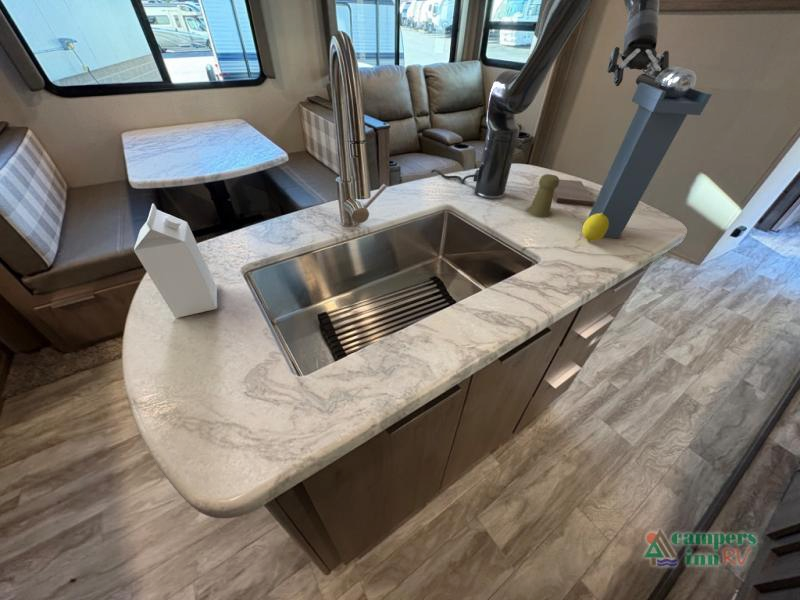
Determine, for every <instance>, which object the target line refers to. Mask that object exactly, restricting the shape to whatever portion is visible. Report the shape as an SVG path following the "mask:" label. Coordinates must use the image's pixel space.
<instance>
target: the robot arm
mask: <svg viewBox="0 0 800 600" xmlns="http://www.w3.org/2000/svg"><path fill="white" fill-rule="evenodd" d="M593 1H594V0H548V1H547V3H546V4H545V7H544V9H543V12H542V15H541V19H540V23H539V28H538V34H537V38H536V42H535V45H534V48H533V49H532V51H531V53H530V55H529V56H528V58H527V60H526V61H525V63H524V64H523V66H522V67H521V69H520V70H519V71H518V70H514V69H506V70H503V71H502V72H501V73H499V74H498V75H497V76H496V78H495V79H494V81H493V84H492V85H491V89H490V93H489V99H488V103H487V105H488V106H487V112H486V120H485V124H486V135H485V140H484V145H483V151H482V156H481V161H480V164H479V168H478V169H476V170H475V171H474V174H468V175H465V176H464V177H463V178H462V177H461V176H459V175H445V174H443V173H442V172H441V171H439V170H438V169H432V170H430V172H429V173H434V172H435V173H437V174H438V175H439V176H441V177H443V178H445V179H459V183H461V184H462V183H464V182H465V181H466V179H469V178H473V179H472V181H473V182H474V183H475V182H476V183H475V188H474V192H473V193H474V195H477V196H479V197H482V198H484V199H492V200H497V199H501V198H503V197H504V196H505V193H506V187H507V184H508V179H509V176H510V172H511V167H512V164H513V159H514V155H515V152H516V147H517V144H518V139H519V137H520V131H521V130H520V126H519V125H518V123H517V121H516V117H515V116H516V115H519V114H521V113H524V112H525V111H526V110H527V109H528V108H529V107H530V106H531V104H532V103H533V101H534V100H535V99H536V97H537V95H538V93H539V91H540V90H541V87H542V86H543V84H544V82H545V80H546V78H547V76H548V74H549V72H550V71H551V70H552V69H551V68H552V67H553V66H554V63H555V62H556V60H557V58H558V57H559V56H560V53H561V52H562V51H563V48H564V47H565V45H566V44H567V42H568V40H569V39H570V37H571V35H572V34H573V33H574V31H575V29H576V28H577V26H578V25H579V23H580V22H581V20H582V18H583V17H584V16H585V14H586V13H587V12H588V9H589V8H590V6H591V5H592V3H593ZM623 3H624V6H625V9H626V11H627V25H626V29H625V32H624V42H623V48H622V49H623V50H621V49H620V47H619V46H615V48H614V49H613V51H612V52H611V54H610V56H609V61H608V66H607V71H606V72H607V73H608V74H611V73H613V75H614V77H613V84H614V85H615V87H619V86H620V85H621V84H622V82H623V80H624V71H625V70H626V69H629V70H638V71H642V72H643V74H647V75H650V76H654V77H657V76H658V75H659V74H660V73H661V72H662V71H663V70H665V69H667V68H669V67H670V52H669V50H664V51H663V52H662V53H658V52H657V50H656V49H657V43H658V33H659V24H660V22H659V10H660V0H623ZM619 59H621V60H622V62H621V63H620V64H618V60H619Z"/></svg>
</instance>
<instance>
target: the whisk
mask: <svg viewBox="0 0 800 600" xmlns="http://www.w3.org/2000/svg"><path fill="white" fill-rule="evenodd" d="M639 83H645V84H647V85H650V86H653V87H655V88H658V89H661V90H663V91H666V94H665V96H666V97H668V98H671V99H677V98H681V97H683V96H685V95H687V94H688V93H689V92H690V91H691V90H692V89H694V87H695V85H696V83H697V74H696V73H695V71H693V70H691V69H689V68H685V67H680V66H669V68H667V69H665V70H663V71H662V72H661V73H660V74H659V75H658V76H657V77H654V76H650V75H648V74H645V73H641V74H639V75H637V77H636V79H635V84H636V86H638V85H639Z"/></svg>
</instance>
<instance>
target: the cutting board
mask: <svg viewBox="0 0 800 600" xmlns="http://www.w3.org/2000/svg"><path fill="white" fill-rule="evenodd" d="M553 198H554V200H555V203H558V204H569V205H578V206H588V207H589V206H590V207H593V206H594V204H595V200H594V199H593V197H592V196H591V194H590V192H589V191H588V190H587V188H586V187H585V185H584V183H583V182H582V181H581V180H572V179H560V178H559V184H558V186H557V188H555V190H554V194H553Z"/></svg>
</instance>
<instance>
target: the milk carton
mask: <svg viewBox="0 0 800 600" xmlns="http://www.w3.org/2000/svg"><path fill="white" fill-rule="evenodd" d="M148 213H149V214H148V217H147V219H146V221H145V223H144V224H143V225H142V227H141V228H140V230H139V232H138V235H137V239H136V242H135V244H134V248H133V252H134V254H135V255H136V256H137V258H138V260H139V262H140V263H141V265H142V266H143V268H144V269H145V271H146V273H147V275H148V276H149V277H150V280H151V282H152V283H153V284H154V286H155V287H156V289H157V291H158V293H159V295H161V297H162V299H163V300H164V302H165V304H166V305H167V307H168V308H169V310H170V312H171V313H172V315H173V317H174V318H175V319H178V318H183V317H187V316H188V317H189V316H191V315H195V314H199V313H200V314H201V313H205V312H209V311H213V310H217V309H218V287H217V284H216V282H215V280H214V278H213V276H212V274H211V271H210V269H209V267H208V265H207V263H206V260H205V259H204V256H203V253H202V252H201V249H200V247H199V245H198V243H197V240H196V238H195V236H194V234H193V232H192V230H191V227H190V225H189V223H188V221H186V220H183V219H181V218H178V217H176V216H174V215H171V214H168V213H166V212H163V211H162V210H159V209H157V207H156V205H155V203H151V207H150V210H149V212H148Z"/></svg>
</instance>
